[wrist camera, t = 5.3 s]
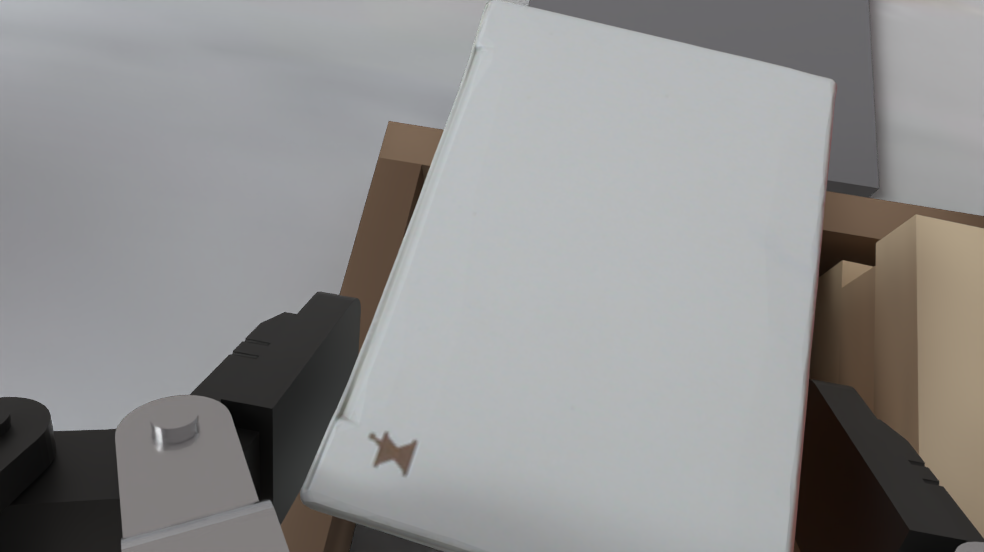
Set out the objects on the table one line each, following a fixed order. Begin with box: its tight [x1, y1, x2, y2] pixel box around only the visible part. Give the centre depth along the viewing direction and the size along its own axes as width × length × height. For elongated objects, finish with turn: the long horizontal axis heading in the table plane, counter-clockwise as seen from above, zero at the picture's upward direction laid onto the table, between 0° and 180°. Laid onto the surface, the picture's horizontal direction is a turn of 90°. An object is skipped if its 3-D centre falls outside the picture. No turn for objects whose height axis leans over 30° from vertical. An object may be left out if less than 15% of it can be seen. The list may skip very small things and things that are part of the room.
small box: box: [300, 0, 837, 552], centre depth 13 cm, size 8×6×10 cm
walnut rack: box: [280, 121, 984, 552], centre depth 16 cm, size 20×16×3 cm
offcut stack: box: [809, 214, 984, 538], centre depth 14 cm, size 6×12×6 cm, turn 167°
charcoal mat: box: [529, 0, 879, 197], centre depth 22 cm, size 12×9×1 cm
